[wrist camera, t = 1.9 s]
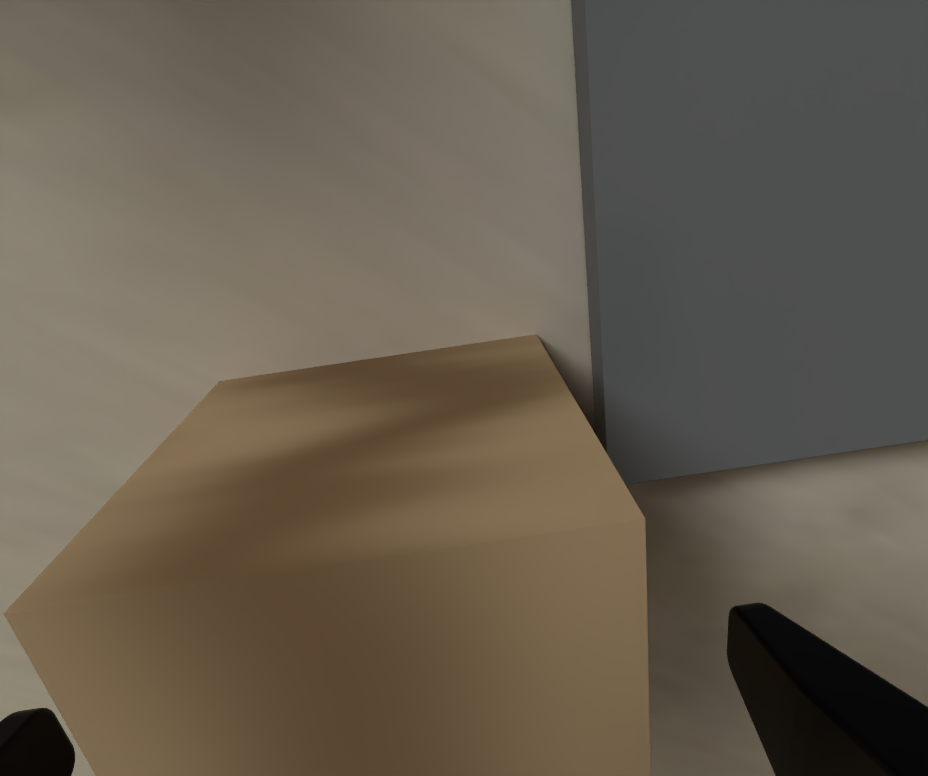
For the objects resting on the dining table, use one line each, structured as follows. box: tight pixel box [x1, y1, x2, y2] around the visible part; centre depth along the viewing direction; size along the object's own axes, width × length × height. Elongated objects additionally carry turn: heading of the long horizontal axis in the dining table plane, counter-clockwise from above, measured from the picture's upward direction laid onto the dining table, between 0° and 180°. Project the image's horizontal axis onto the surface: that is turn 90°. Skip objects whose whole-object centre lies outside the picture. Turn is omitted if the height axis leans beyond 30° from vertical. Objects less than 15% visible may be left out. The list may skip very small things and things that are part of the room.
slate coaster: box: [571, 0, 928, 485], centre depth 10 cm, size 9×9×1 cm
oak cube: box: [4, 335, 651, 776], centre depth 9 cm, size 6×6×6 cm
